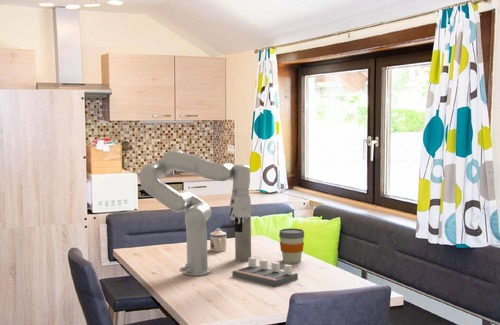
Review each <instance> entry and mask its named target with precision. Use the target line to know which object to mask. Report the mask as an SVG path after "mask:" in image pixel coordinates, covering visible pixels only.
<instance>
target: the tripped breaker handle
mask: <svg viewBox="0 0 500 325" xmlns="http://www.w3.org/2000/svg"><path fill="white" fill-rule="evenodd" d="M280 265H281V263H280V262H276V261H273V262H271V268H272V271H274V272H279V271H280V270H281V269H280V268H281V266H280Z"/></svg>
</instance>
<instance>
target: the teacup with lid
mask: <svg viewBox="0 0 500 325" xmlns="http://www.w3.org/2000/svg"><path fill="white" fill-rule="evenodd" d="M227 235H228V234H227V232H225V231H223V230H221V229H220V228H216V230H214V231H212V232H210V233H209V236H210V237H209V240H210V241H209V242H210V245H209V248H210V251H211V252H215V253H221V252H225V251H227Z"/></svg>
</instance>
